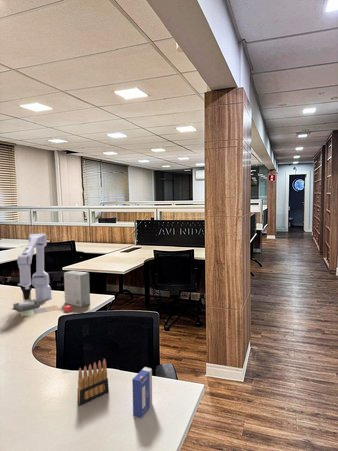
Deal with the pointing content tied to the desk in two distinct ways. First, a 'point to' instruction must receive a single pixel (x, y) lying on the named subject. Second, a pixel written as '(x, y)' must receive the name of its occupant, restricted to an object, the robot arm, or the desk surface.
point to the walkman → (142, 392)
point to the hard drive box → (77, 288)
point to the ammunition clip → (92, 383)
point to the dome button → (25, 304)
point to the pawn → (27, 300)
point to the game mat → (39, 310)
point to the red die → (67, 308)
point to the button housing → (26, 306)
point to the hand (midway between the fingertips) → (26, 298)
